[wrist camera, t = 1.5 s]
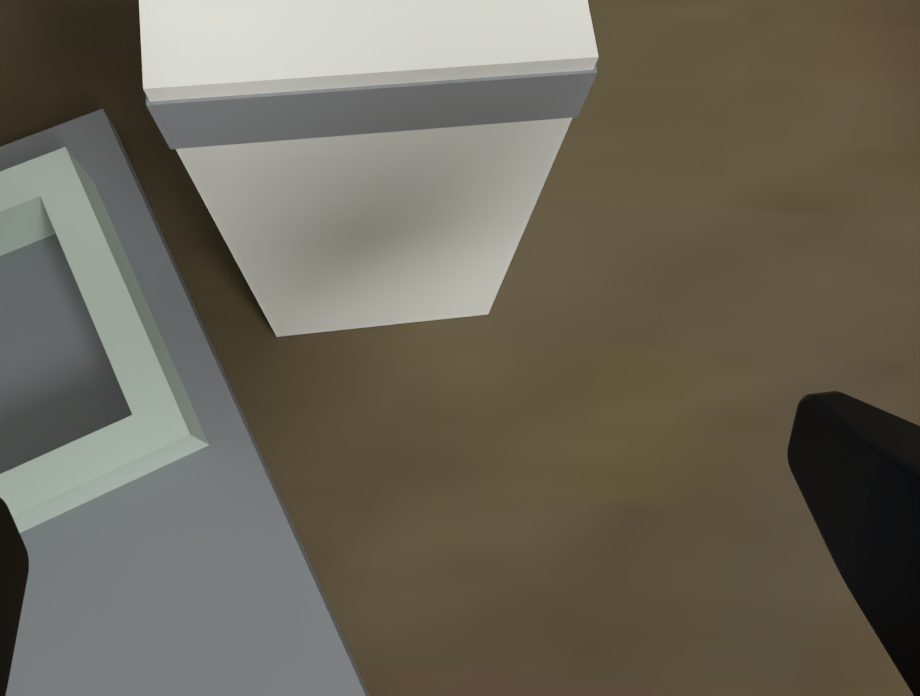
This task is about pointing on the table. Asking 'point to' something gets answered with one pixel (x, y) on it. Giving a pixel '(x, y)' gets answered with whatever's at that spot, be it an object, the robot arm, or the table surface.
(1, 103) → the table surface
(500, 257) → the slim case
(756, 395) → the table surface
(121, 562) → the docking stand
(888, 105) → the table surface
